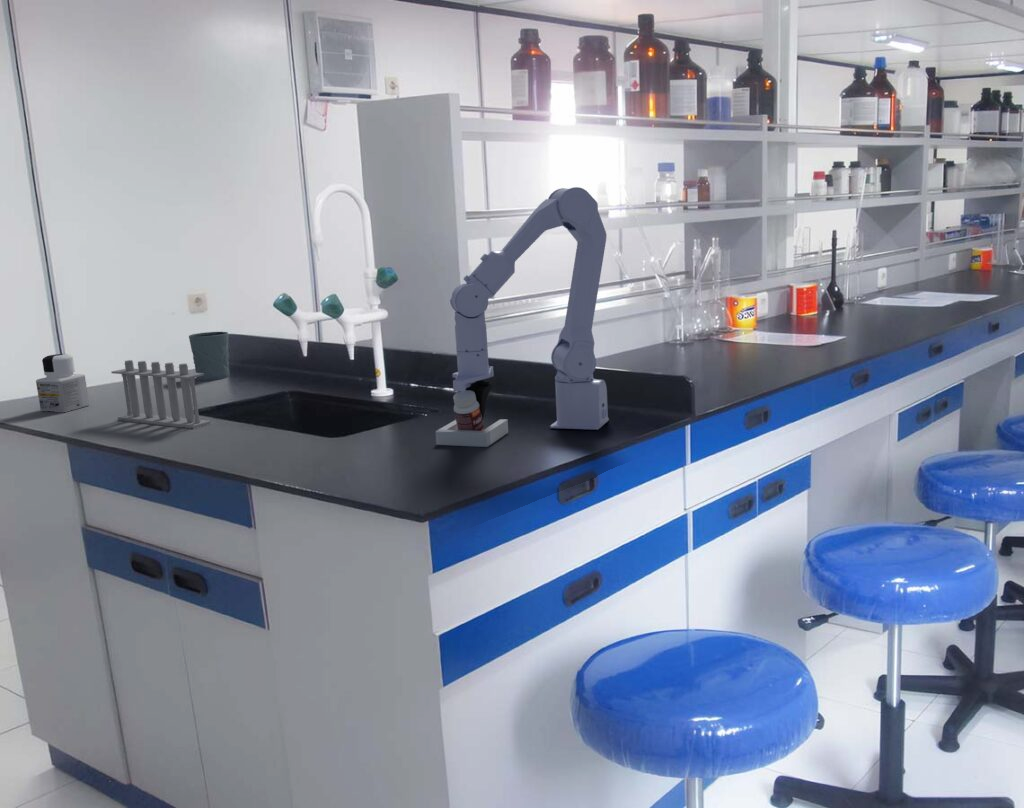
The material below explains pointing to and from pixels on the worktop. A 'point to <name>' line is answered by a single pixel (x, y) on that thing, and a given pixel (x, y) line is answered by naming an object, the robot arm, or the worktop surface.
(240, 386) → the worktop surface
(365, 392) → the worktop surface
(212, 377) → the dark green cup
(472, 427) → the pill bottle
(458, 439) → the square dock
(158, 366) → the test tube rack
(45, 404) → the container
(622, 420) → the worktop surface
